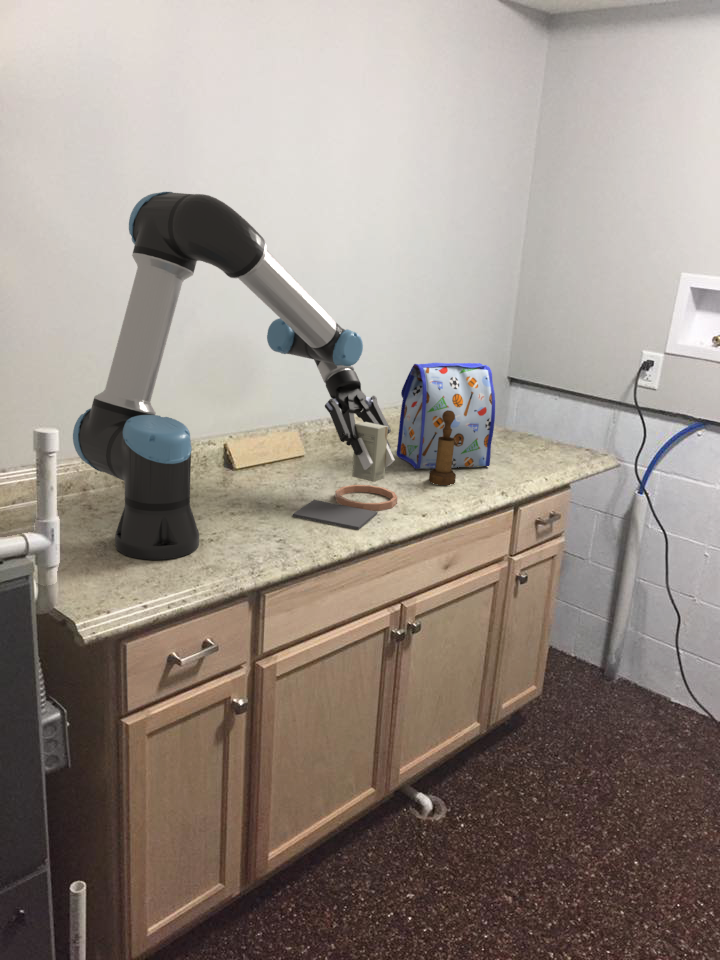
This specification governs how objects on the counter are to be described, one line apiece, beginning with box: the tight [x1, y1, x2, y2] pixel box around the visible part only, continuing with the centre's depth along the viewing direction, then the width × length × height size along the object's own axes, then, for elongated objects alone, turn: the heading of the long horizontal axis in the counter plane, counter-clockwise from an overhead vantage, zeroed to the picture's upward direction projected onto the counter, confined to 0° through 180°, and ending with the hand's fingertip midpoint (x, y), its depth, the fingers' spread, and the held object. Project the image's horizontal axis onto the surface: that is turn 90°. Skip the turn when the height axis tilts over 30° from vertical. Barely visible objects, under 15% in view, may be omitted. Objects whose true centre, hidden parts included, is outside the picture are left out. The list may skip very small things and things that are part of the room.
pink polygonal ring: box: [334, 484, 398, 512], centre depth 189 cm, size 14×14×2 cm
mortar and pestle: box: [428, 410, 457, 486], centre depth 205 cm, size 7×6×18 cm
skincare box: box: [351, 421, 389, 483], centre depth 186 cm, size 6×4×12 cm
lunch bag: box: [396, 362, 496, 470], centre depth 222 cm, size 23×17×27 cm
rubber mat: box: [292, 499, 378, 531], centre depth 178 cm, size 11×15×1 cm
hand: (379, 464), depth 184 cm, fingers closed on skincare box, 6 cm apart
